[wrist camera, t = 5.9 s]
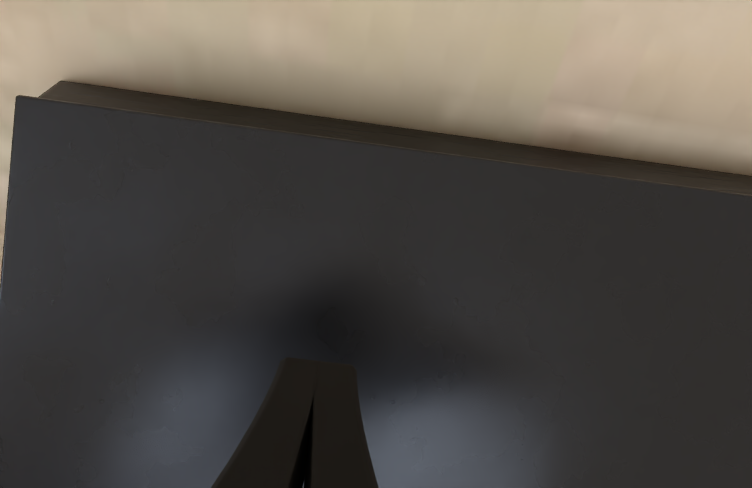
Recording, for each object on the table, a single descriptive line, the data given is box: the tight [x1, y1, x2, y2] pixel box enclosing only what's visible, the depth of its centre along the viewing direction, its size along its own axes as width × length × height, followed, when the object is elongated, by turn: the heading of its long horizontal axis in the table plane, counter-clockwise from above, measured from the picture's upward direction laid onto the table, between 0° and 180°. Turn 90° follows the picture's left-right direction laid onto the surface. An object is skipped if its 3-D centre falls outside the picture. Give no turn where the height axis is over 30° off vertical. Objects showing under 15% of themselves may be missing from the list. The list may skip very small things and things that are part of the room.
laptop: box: [38, 81, 752, 195], centre depth 24 cm, size 21×30×2 cm
